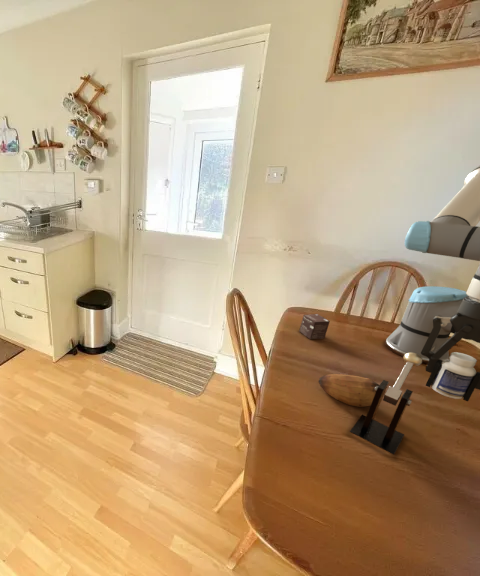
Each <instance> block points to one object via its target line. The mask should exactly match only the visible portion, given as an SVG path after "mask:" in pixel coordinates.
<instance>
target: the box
mask: <svg viewBox="0 0 480 576" xmlns="http://www.w3.org/2000/svg"><path fill="white" fill-rule="evenodd" d="M329 326H330V320H329V319H326V317H324V316H321V315H320V314H319V313H312V314H303V316H302V320H301V323H300V327H299V330H298V332H299V333H300V334H301V335H303V336H305V337H307V338H308V339H310V340H319V339H325V338H326V334H327V331H328V328H329Z"/></svg>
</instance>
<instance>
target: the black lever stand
mask: <svg viewBox="0 0 480 576" xmlns="http://www.w3.org/2000/svg"><path fill="white" fill-rule="evenodd" d="M389 383H390V382H389V381H387V380H385V379H383V380H382V381H381V382H380V383H379V386H376V388H375V390H374V392H376V393H375V396H374V398H373V401H372V403H371V405H370V406H369V408H368V411H367V413H366V415H365V414H361V415H360V416H359V418H358V419H357V421H356V422H355V424H353V426H352V427H351V429H350V430H349V432H350V433H351V434H353V435H355V436H357V437H359V438H361V439H363V440H365V441H367V442H369V443H371V444H373V445H374V446H376V447H378V448H380V449H382V450H384V451H386V452H387V453H390V454H391V455H395V454H396V452H397V450H398V448H399V446H400V444H401V442H402V440H403V438H404V437H405V433H402V432H400V431H398V430H397V428H398V426H399V424H400V422H401V420H402V417H403V415H404V413H405V410H406V408H407V406H408V407H410V406H411V405H412V402H413V400H412V399H411V397H412V395H413V392H414V391H413V390H411V389H408V388H406V390H405V391H404V393H403V394H402V395H401V397H400V399H399V401H398V402H399V403H397V407H396V409H395V410H394V411H395V412H394V414H393V416H392V419H391V421H390V423H389V426H387V425H385V424H383V423H381V422H379V421H377V420H375V418H376V415H377V413H378V410H379V408H380V406H381V403H382V401H383V398H384V395H385V393H386V391H387V389H388V387H389V386H388V385H389Z"/></svg>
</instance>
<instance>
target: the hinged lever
mask: <svg viewBox="0 0 480 576" xmlns="http://www.w3.org/2000/svg"><path fill="white" fill-rule="evenodd" d="M402 361H403V362H404V364H405V365H404V366H403V368H402V370H401V372H400V374H399V376H398V377H397V379H396V381H395V382H394V385H393V386H391V385H389V386H388V387H387V388H386V391H385V393H384V396H383V398H382V401H383V402H385V403H387V404H390V405H392V406H397V405H398V402H399V401H400V399H401V397H402V395H403V394H402V393H403V390H401V389H402V387H403V385H404V383H405V381H406V380H407V377H408V376H409V374H410V372H411V370H412V369H413V367H419V366H421V364H423V363H422V358H421V356H419V355H418V354H416V353H406V354H405V355H404V356H403V357H402Z"/></svg>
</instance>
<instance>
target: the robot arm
mask: <svg viewBox="0 0 480 576" xmlns="http://www.w3.org/2000/svg"><path fill="white" fill-rule="evenodd" d="M479 223H480V165H478V166H476V167H475V168H473V170H472V171H471V172H470V173H468V174H467V176H466V177H465V179H464V181H463V186H462V187H461V188H460V190H459V191H458V192H457V193H456V194H455V195H454V196H453V197H452V199H450V201H448V202H447V204H446V205H445V206H444V207H443V208H442V209H441V210H440V211H439V212H438V214H437V215H435V216H434V218H433V219H432V220H430V221H429V220H426V221H425V220H424V221H423V220H418V221H414V222H413V223H412V224H411V226H410V227H409V229H408V231H407V233H406V235H405V239H404V247H405V248H406V249H407V250H408V251H415V252H419V253H422V254H432V255H438V256H444V257H451V258H459V259H464V260H469V261H470V260H471V261H476V262H480V226H477V225H478V224H479ZM451 334H453V335H451ZM450 335H451V337H450ZM462 339H463V340H467V341H473V342H475V343H477V344H480V263H479V264H478V266H477V269H476V271H475V273H474V275H473V276H472V279H471V281H470V283H469V285H468V288H467V289H466V291H465V290H462V289H459V288H454V287H449V286H437V285H436V286H435V285H433V286H431V285H430V286H429V285H427V286H420V287H417V288H415V289H414V290H413V291H412V293H411V295H410V297H409V298H408V303H407V305H406V308H405V310H404V313H403V316H402V318H401V321H400V323H399V325H398V326H397V328H396V329H394V331H393V332H392V333H390V335H388V337H387V338H386V340H385V342H384V345H385V347H386V348H387V349H388V350H390V351H391V352H392V353H394V354H396V355H398V356H400V357H402V358H403V356H404V355H405V354H406V353H416V354H418V355H419V356H421V358H422V363H421V364H426V367H425V372H427V373H430V375H429V377H428V379H427V381H426V384H425V386H426V387H429V388H431V384H432V382H433V380H434V378H435V375H436V373H437V371H438V369H439V367H440V365H441V363H442V361H444V360H449V356H450V350H451V349H452V348H453V347H454V346H455V345H457V343H458V342H460V341H461V340H462ZM475 390H479V391H480V371H476V375H475V377H474V379H473V381H472V383H471V384H470V386H469V388H468V390H467V392H466V394H465V396H464V397H463V398H462V400H464V401H465V402H469V400H470V398H471V397H472V395H473V393H474V391H475Z"/></svg>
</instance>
